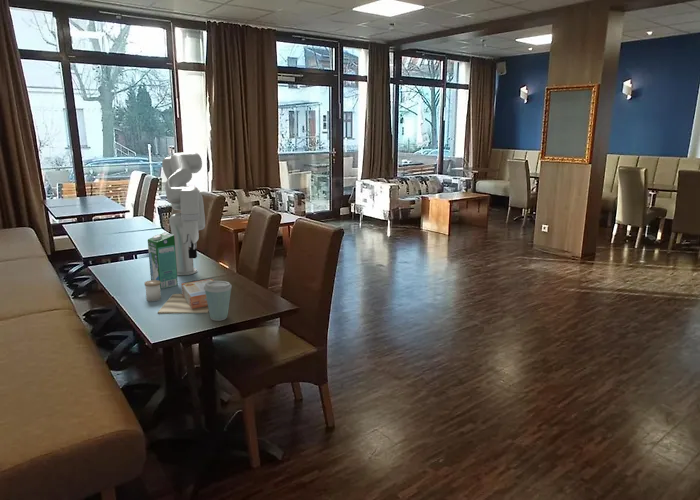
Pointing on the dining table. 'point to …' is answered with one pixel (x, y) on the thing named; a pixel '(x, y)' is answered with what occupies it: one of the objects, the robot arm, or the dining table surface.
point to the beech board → (180, 306)
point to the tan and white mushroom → (153, 290)
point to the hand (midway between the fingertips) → (192, 257)
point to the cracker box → (195, 293)
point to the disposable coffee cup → (218, 299)
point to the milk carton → (163, 259)
